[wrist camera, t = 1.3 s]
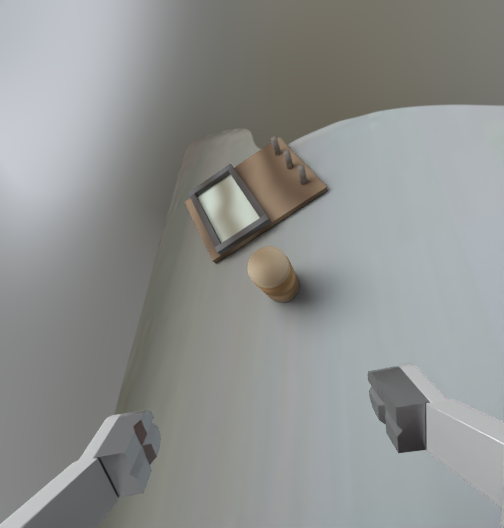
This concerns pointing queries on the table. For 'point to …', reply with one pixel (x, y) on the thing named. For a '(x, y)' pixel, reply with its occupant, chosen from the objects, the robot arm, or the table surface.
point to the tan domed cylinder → (273, 274)
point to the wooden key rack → (251, 197)
